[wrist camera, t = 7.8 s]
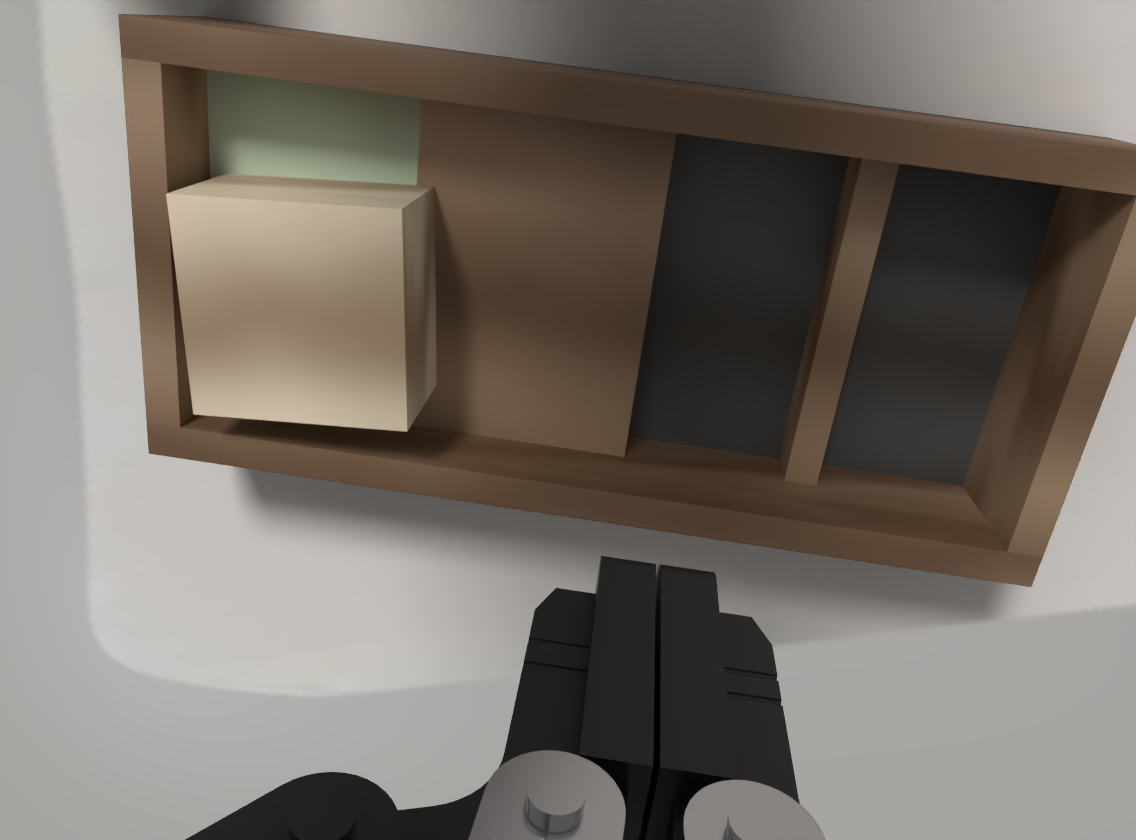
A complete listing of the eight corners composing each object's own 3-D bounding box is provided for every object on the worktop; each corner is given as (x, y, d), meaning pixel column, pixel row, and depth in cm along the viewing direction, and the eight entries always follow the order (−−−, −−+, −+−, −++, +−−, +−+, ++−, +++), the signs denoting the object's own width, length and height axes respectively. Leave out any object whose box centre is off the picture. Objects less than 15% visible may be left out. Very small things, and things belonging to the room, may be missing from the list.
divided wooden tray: (202, 16, 27) (118, 14, 22) (1108, 138, 26) (1195, 158, 21) (215, 397, 31) (148, 453, 27) (980, 511, 30) (1031, 586, 26)
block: (227, 173, 26) (166, 193, 23) (434, 186, 26) (401, 208, 23) (247, 370, 29) (193, 414, 25) (436, 384, 28) (407, 431, 25)
